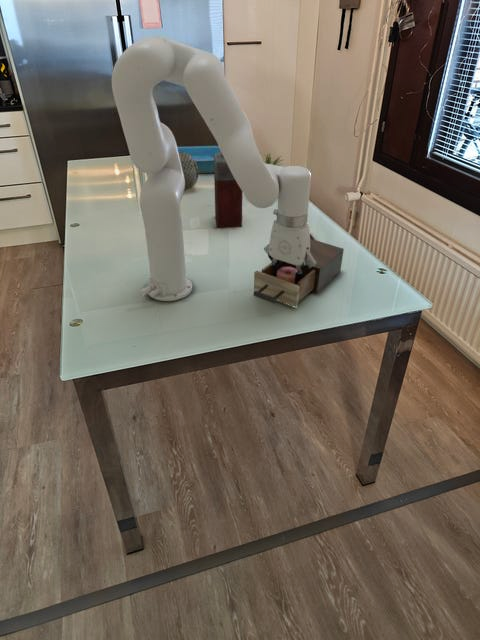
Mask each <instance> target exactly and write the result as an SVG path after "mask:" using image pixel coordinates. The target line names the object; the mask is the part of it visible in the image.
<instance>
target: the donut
mask: <svg viewBox="0 0 480 640" xmlns="http://www.w3.org/2000/svg"><path fill="white" fill-rule="evenodd" d="M296 272H297V269H295V268H292V267H282V268H280V269H279V270H278V271H277V272H276V277H277V278H279V279H282V280H285V281H288V282H290V283H293V284H294V283H295V274H296Z"/></svg>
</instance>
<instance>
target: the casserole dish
mask: <svg viewBox="0 0 480 640" xmlns="http://www.w3.org/2000/svg"><path fill="white" fill-rule="evenodd" d="M177 149H178V153H179V152H185V153H188V154H189V155H191V156H192V157H193V159H194V160H195V162H196V165H197V168H198V174H212V173H213V174H214V154H215V153H221V151H220V149H219V146H218V145H199V146H197V145H196V146H177Z"/></svg>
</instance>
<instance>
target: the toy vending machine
mask: <svg viewBox="0 0 480 640" xmlns="http://www.w3.org/2000/svg"><path fill="white" fill-rule="evenodd" d="M213 177H214V218H215V219H214V220H215V225H216V226H215V227H216V228H217V229H220V228H221V229H223V228H224V229H227V228H242V227H243V192H242V190H241V188H240V187H239V185H238V184H237V182H236V180H235V178H234V177H233V175H232V173H231V171H230V169H229V167H228V165H227V162H226V160H225V158H224V156H223V154H222V153H215V154H214V173H213Z"/></svg>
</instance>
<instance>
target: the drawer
mask: <svg viewBox="0 0 480 640" xmlns="http://www.w3.org/2000/svg"><path fill="white" fill-rule="evenodd" d="M280 261H281V260H280ZM281 262H282V267H292V268H295V269H296V265H293V264H290V263H287V262H284V261H281ZM316 278H317V270H315V269H312V268H309V269H308V270H306V271H304V278H303V279H301V280H300V281H299V282H298V284H297V285H296V284H293V283H290V282H288V281H285V280H282V279H279V278H277V277H274V276H273V265H272V263H269V264H267V265H266V266H265V267H263V268H262V269H261V270H260V271H259V270H255V271H254V275H253V297H255V298H259V299H261V300H264V301H266V302H267V303H268V302H269V303H271V304H275V303H276V301H277V300H279V301H281V302H280V303H281V304H284V305H286V306H289V307H292V306H295V307H296V306H297V307H296V308H298V307H299V302H300V301H301V300H303V299H304V298H305V297H306V296H307V295H308V294H310V293H311V292H310V291H312V290H313V289H314V288H315V287H316ZM279 301H277V302H279ZM282 302H284V303H282ZM285 303H287V304H289V305H287V304H285ZM290 305H292V306H290ZM295 307H293V308H294V309H296V308H295Z"/></svg>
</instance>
